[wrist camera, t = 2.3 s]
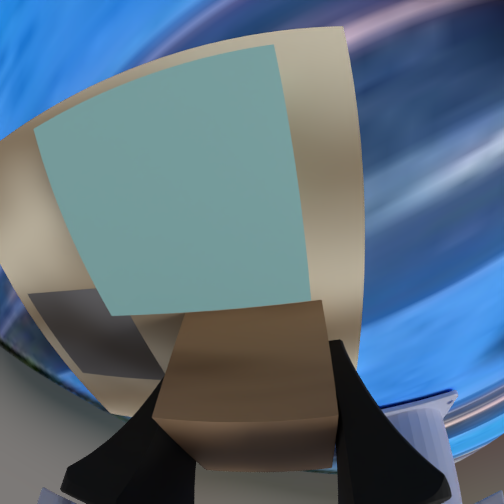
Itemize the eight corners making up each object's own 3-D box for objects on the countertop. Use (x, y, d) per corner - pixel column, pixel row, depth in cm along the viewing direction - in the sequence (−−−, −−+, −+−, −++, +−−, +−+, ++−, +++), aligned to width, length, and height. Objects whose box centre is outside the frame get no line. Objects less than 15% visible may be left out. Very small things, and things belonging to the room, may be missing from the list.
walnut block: (324, 379, 13) (331, 467, 9) (219, 386, 13) (205, 469, 10) (321, 299, 10) (338, 415, 6) (185, 312, 11) (151, 417, 7)
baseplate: (347, 405, 15) (349, 416, 15) (114, 404, 18) (110, 413, 17) (336, 31, 6) (342, 26, 6) (-26, 165, 9) (-37, 171, 8)
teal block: (296, 208, 8) (311, 300, 5) (166, 227, 9) (111, 315, 6) (273, 67, 6) (273, 44, 3) (130, 103, 7) (33, 128, 4)
